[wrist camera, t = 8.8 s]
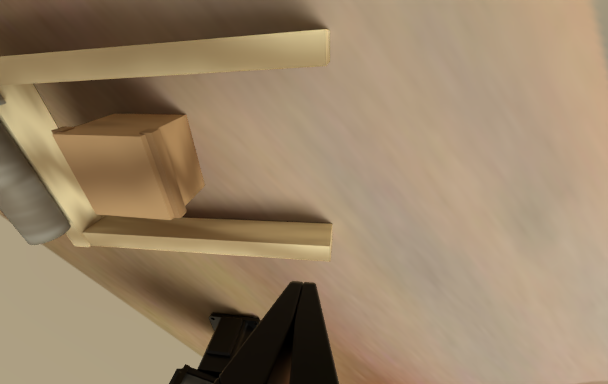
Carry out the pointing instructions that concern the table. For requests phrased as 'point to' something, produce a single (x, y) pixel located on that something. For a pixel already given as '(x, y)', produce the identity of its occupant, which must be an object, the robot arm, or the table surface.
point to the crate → (134, 164)
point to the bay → (64, 186)
